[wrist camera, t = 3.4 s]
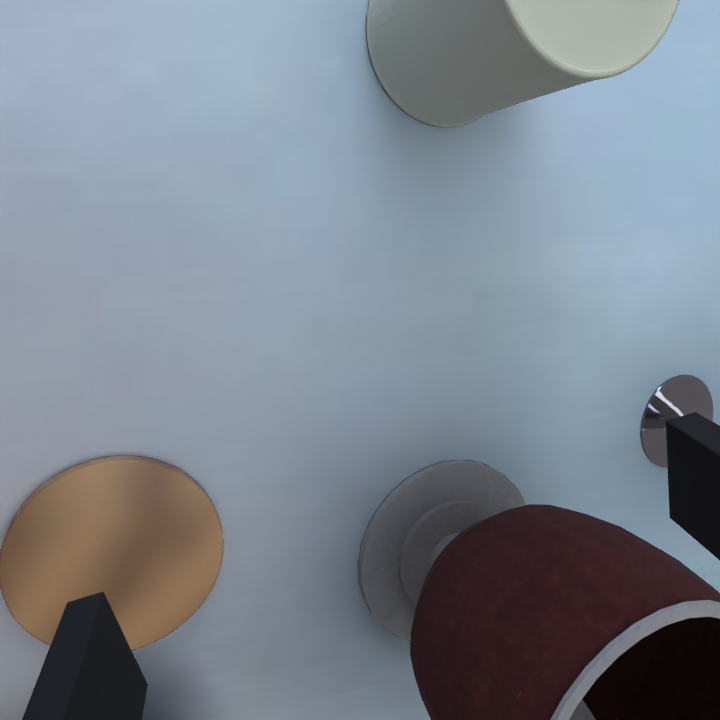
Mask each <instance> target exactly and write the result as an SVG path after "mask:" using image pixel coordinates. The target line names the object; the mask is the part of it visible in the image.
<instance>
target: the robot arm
mask: <svg viewBox="0 0 720 720" xmlns="http://www.w3.org/2000/svg"><path fill="white" fill-rule="evenodd" d="M666 440H667V463H668V485H669V508H670V518H671V519H672V520H673V521H675V522H676V523H677V524H678V525H679V526H680V527H682V528H683V529H684V530H685V531H686V532H687V533H689V534H690V535H691V536H692V537H693V538H694V539H696V540H697V541H698V542H699V543H700V544H701V545H703V546H704V547H705V548H706V549H707V550H708V551H710V552H711V553H712V554H713V555H714V556H715V557H717V558H718V559H719V560H720V426H719V425H717V424H715V423H714V422H712V421H710V420H709V419H707V418H705V417H703V416H702V415H700V414H698V413H696V412H694V413H690V414H687V415H684V416H680V417H677V418H674V419H670V420H667V421H666ZM147 685H148V684H147V682H146V680H145V678H144V676H143V674H142V672H141V670H140V668H139V665H138V663H137V661H136V659H135V657H134V655H133V653H132V651H131V649H130V646H129V644H128V642H127V640H126V638H125V636H124V634H123V632H122V630H121V627H120V625H119V623H118V621H117V619H116V617H115V615H114V613H113V611H112V608H111V606H110V604H109V602H108V600H107V598H106V596H105V594H104V592H100V593H96V594H93V595H90V596H86V597H83V598H80V599H77V600H73V601H70V602H67V604H66V607H65V609H64V612H63V615H62V617H61V620H60V622H59V625H58V628H57V630H56V633H55V635H54V638H53V641H52V643H51V646H50V649H49V651H48V654H47V656H46V659H45V662H44V664H43V667H42V669H41V672H40V675H39V677H38V680H37V683H36V685H35V688H34V690H33V693H32V696H31V698H30V701H29V703H28V706H27V709H26V711H25V714H24V717H23V719H22V720H142V714H143V708H144V702H145V697H146V691H147Z"/></svg>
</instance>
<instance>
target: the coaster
mask: <svg viewBox="0 0 720 720" xmlns="http://www.w3.org/2000/svg"><path fill="white" fill-rule="evenodd" d="M222 556H223V533H222V527H221V523H220V520H219V516H218V514H217V511H216V509H215V507H214V505H213V503H212V501H211V499H210V498H209V496H208V495H207V493H206V492H205V490H204V489H203V488H202V487H201V486H200V485H199V484H198V483H197V482H196V481H195V480H194V479H193V478H191V477H190V476H189V475H188V474H186V473H185V472H183V471H181V470H180V469H178V468H176V467H174V466H172V465H170V464H167V463H165V462H162V461H159V460H155V459H151V458H146V457H140V456H110V457H104V458H99V459H94V460H91V461H87V462H84V463H81V464H78V465H76V466H73V467H71V468H69V469H67V470H65V471H63V472H61V473H59V474H58V475H56V476H54V477H52V478H51V479H50V480H48V481H47V482H46V483H44V484H43V485H42V486H40V487H39V488H38V489H37V490H36V491H35V492H34V493H33V494H32V495H31V496H30V497H29V498H28V499H27V500H26V501H25V503H24V504H23V505H22V506H21V507H20V509H19V510H18V512H17V513H16V515H15V517H14V518H13V520H12V522H11V524H10V526H9V528H8V531H7V533H6V535H5V538H4V541H3V545H2V549H1V552H0V587H1V591H2V595H3V597H4V600H5V602H6V605H7V607H8V608H9V610H10V612H11V613H12V615H13V617H14V618H15V619H16V620H17V621H18V623H19V624H20V625H21V626H22V627H23V628H24V629H25V630H26V631H28V632H29V633H30V634H31V635H32V636H34V637H35V638H37V639H39V640H40V641H42V642H43V643H45V644H48V645H50V646H51V643H52V641H53V638H54V635H55V633H56V630H57V628H58V625H59V622H60V620H61V617H62V615H63V612H64V609H65V607H66V604H67V602H70V601H73V600H77V599H80V598H83V597H86V596H90V595H93V594H96V593H100V592H104V594H105V596H106V598H107V600H108V602H109V604H110V606H111V608H112V611H113V613H114V615H115V617H116V619H117V621H118V623H119V625H120V627H121V630H122V632H123V634H124V636H125V638H126V640H127V642H128V644H129V646H130V649H131V650H134V649H137V648H141V647H143V646H146V645H148V644H151V643H153V642H155V641H157V640H159V639H161V638H163V637H164V636H166V635H168V634H169V633H171V632H172V631H174V630H175V629H177V628H178V627H179V626H180V625H182V624H183V623H184V622H185V621H186V620H188V619H189V618H190V617H191V616H192V615H193V614H194V612H195V611H196V610H197V609H198V608H199V607H200V605H201V604H202V603H203V602H204V600H205V599H206V597H207V596H208V594H209V592H210V591H211V589H212V587H213V585H214V583H215V581H216V578H217V576H218V573H219V570H220V566H221V562H222Z"/></svg>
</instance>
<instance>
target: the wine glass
mask: <svg viewBox="0 0 720 720" xmlns="http://www.w3.org/2000/svg"><path fill="white" fill-rule="evenodd" d="M694 412H696V413H698V414H700V415H702V416H703V417H705V418H707V419H709V420H710V421H712V417H713V403H712V398H711V394H710V392H709V390H708V388H707V386H706V385H705V384H704V383H703V382H702V381H701V380H700V379H699V378H697V377H695V376H692V375H679V376H676V377H673V378H671V379H670V380H668V381H666V382H665V383H664V384H662V385H661V386H660V387H659V388H658V389H657V391H656V392H655V393H654V395H653V396H652V397H651V399H650V401H649V403H648V405H647V407H646V409H645V412H644V415H643V419H642V425H641V440H642V445H643V448H644V451H645V453H646V455H647V456H648V458H649V459H650V460H651V461H652V462H653V463H655V464H657V465H659V466H662V467H668V463H667V440H666V421H667V420H670V419H674V418H677V417H680V416H684V415H687V414H690V413H694Z"/></svg>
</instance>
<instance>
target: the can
mask: <svg viewBox="0 0 720 720" xmlns="http://www.w3.org/2000/svg"><path fill="white" fill-rule="evenodd" d="M678 3H679V0H370V1H369V5H368V12H367V25H366V32H367V43H368V49H369V54H370V58H371V61H372V64H373V67H374V70H375V72H376V75H377V77H378V79H379V81H380V83H381V84H382V86H383V88H384V89H385V91H386V92H387V94H388V95H389V96H390V97H391V99H392V100H393V101H394V102H395V103H396V104H397V105H398V106H399V107H400V108H401V109H402V110H404V111H405V112H406V113H407V114H409V115H410V116H412V117H413V118H415V119H417V120H419V121H421V122H424V123H426V124H430V125H434V126H439V127H456V126H461V125H465V124H468V123H471V122H473V121H475V120H477V119H479V118H480V117H482V116H484V115H486V114H489V113H491V112H494V111H497V110H500V109H503V108H506V107H509V106H512V105H515V104H518V103H521V102H525V101H528V100H531V99H534V98H537V97H540V96H543V95H546V94H550V93H553V92H556V91H560V90H563V89H566V88H569V87H573V86H576V85H579V84H582V83H586V82H589V81H593V80H597V79H604V78H609V77H613V76H616V75H619V74H621V73H623V72H625V71H627V70H629V69H631V68H632V67H634V66H635V65H637V64H638V63H639V62H641V61H642V60H643V59H644V58H645V57H646V56H647V55H648V54H649V53H650V52H651V51H652V50H653V49H654V48H655V47H656V46H657V44H658V43H659V41H660V40H661V39H662V37H663V36H664V34H665V32H666V31H667V29H668V27H669V25H670V23H671V21H672V19H673V16H674V14H675V12H676V9H677V6H678Z"/></svg>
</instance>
